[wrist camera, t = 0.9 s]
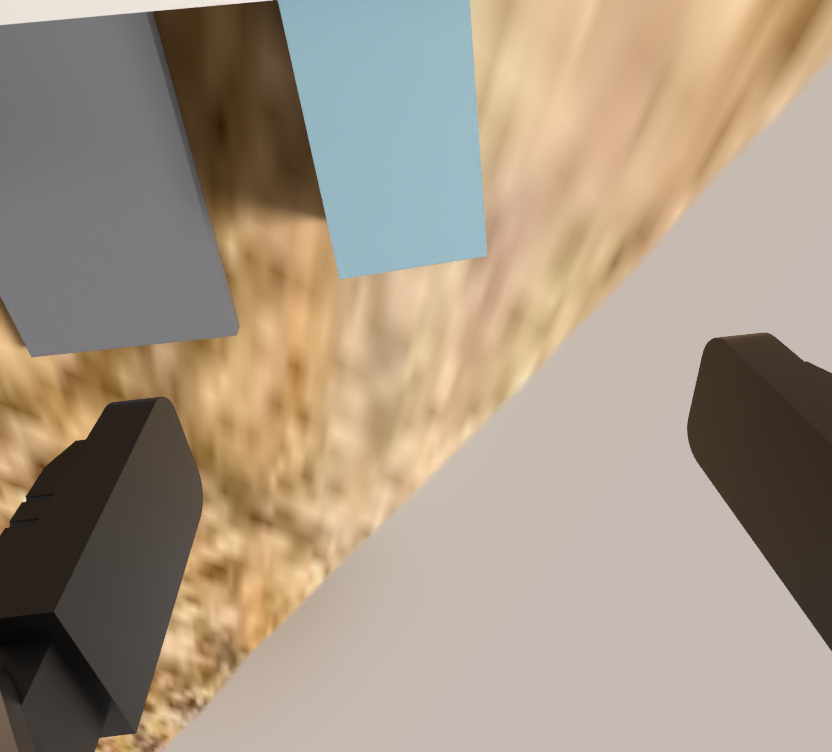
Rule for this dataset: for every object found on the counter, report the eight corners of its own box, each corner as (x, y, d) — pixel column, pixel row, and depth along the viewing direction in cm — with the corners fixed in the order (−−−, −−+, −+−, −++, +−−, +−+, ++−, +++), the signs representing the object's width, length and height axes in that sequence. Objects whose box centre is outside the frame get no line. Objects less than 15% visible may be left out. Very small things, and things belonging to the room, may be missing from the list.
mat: (-210, -151, 17) (-233, -156, 17) (101, -176, 18) (91, -182, 17) (39, 347, 27) (31, 357, 26) (239, 326, 27) (236, 335, 26)
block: (265, -159, 18) (230, -211, 13) (426, -185, 18) (452, -247, 13) (343, 219, 25) (339, 279, 20) (460, 201, 25) (487, 256, 20)
